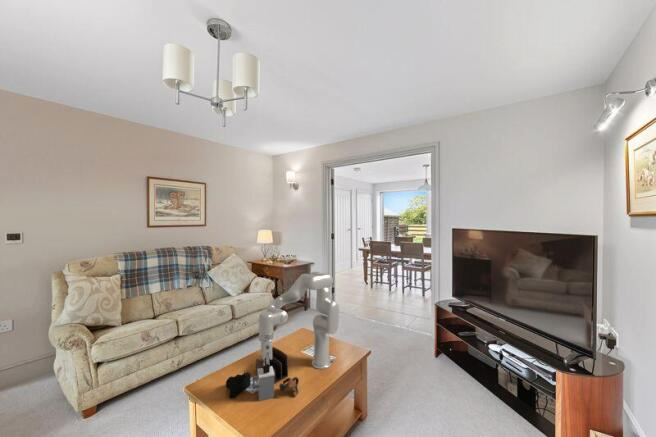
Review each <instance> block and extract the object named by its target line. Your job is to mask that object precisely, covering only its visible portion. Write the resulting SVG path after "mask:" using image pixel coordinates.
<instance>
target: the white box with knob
mask: <svg viewBox="0 0 656 437" xmlns="http://www.w3.org/2000/svg"><path fill="white" fill-rule="evenodd" d="M257 371H258V372H257ZM257 371H256V372H257V375H254V376H252V390H256V389H257V397H258V402H262V401H268V400H272V399H275V384H274V375H275V374H274V370H273V367H272V366H271V367H270V372H269V373H263V369H262V368H259V369H257ZM255 380H257V384H256V381H255Z"/></svg>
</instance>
